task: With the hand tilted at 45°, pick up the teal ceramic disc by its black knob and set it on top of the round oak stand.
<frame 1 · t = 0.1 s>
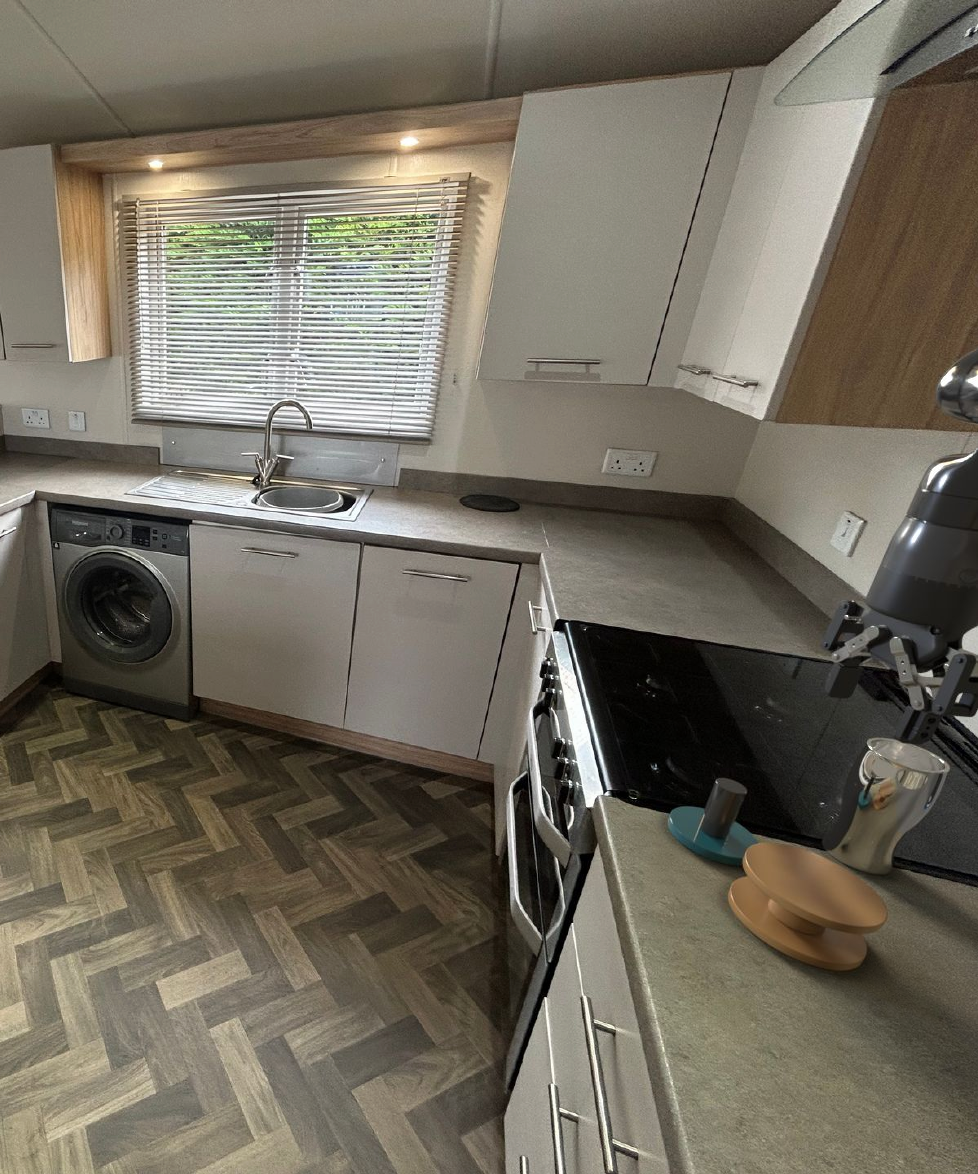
hand: (869, 717, 64), 23 cm above the countertop, tool pointing down, fingers open, 8 cm apart
disc: (710, 838, 79), on the countertop
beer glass: (854, 857, 77), on the countertop
stand: (792, 923, 68), on the countertop
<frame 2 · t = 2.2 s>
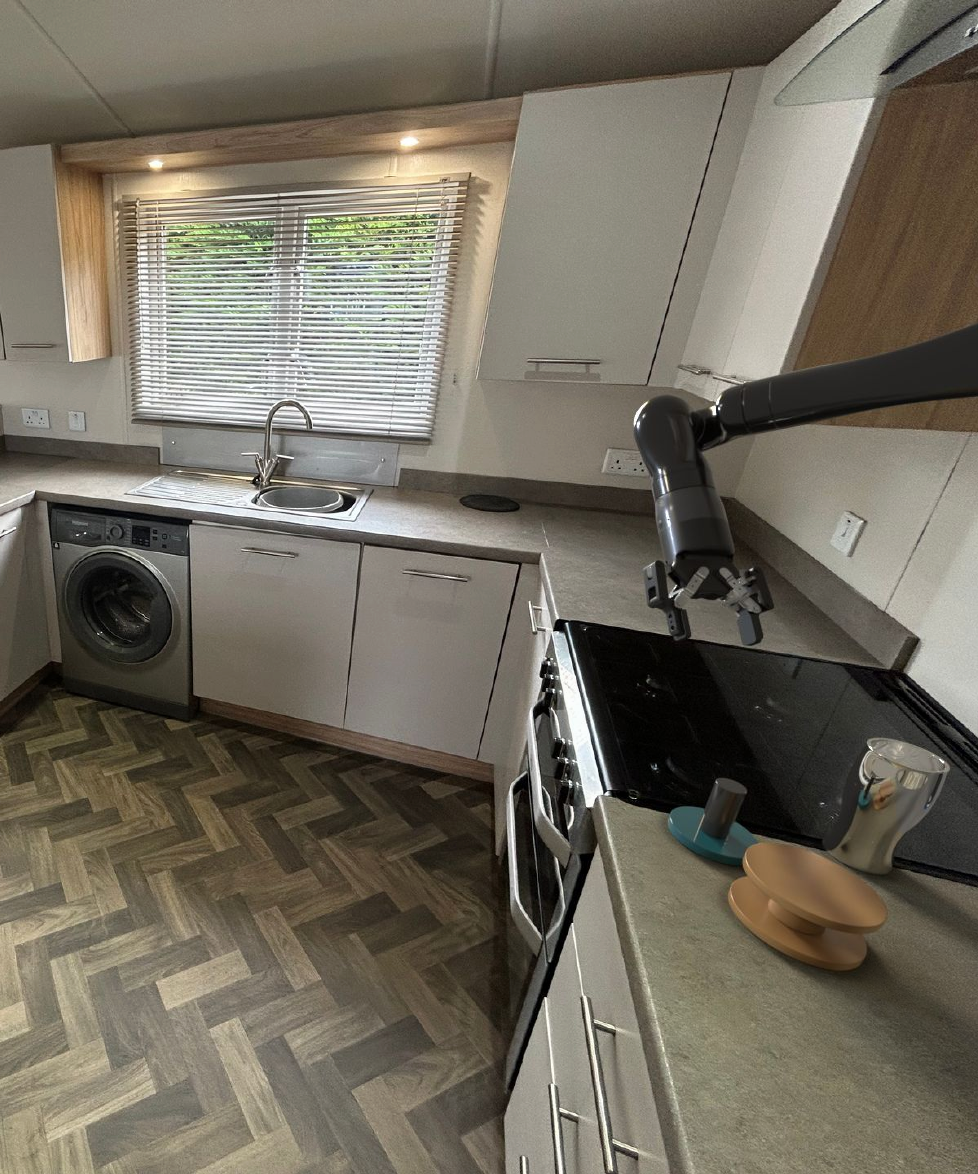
hand: (718, 641, 80), 23 cm above the countertop, tool tilted 40°, fingers open, 8 cm apart
nothing on the countertop moved.
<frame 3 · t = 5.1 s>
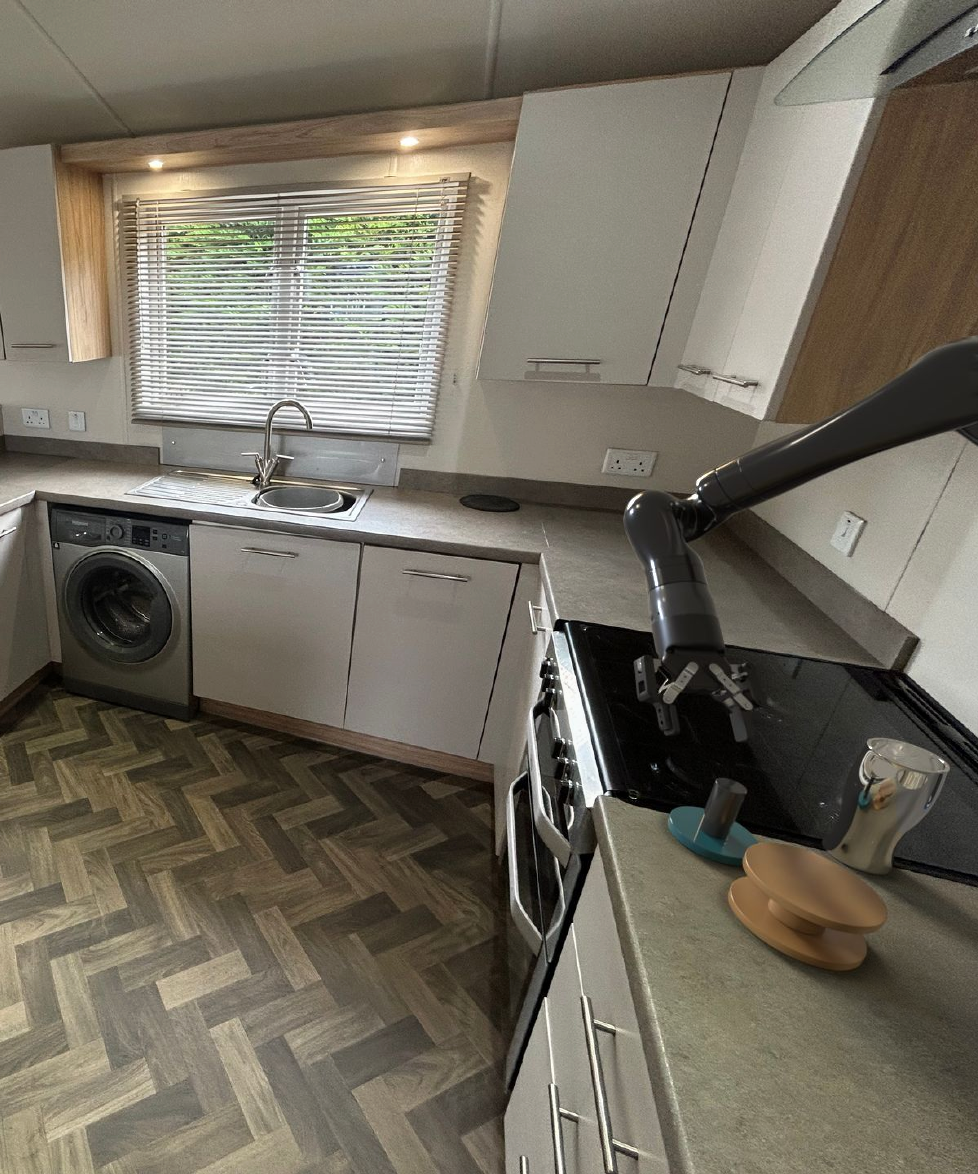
hand: (708, 738, 81), 11 cm above the countertop, tool tilted 45°, fingers open, 8 cm apart
nothing on the countertop moved.
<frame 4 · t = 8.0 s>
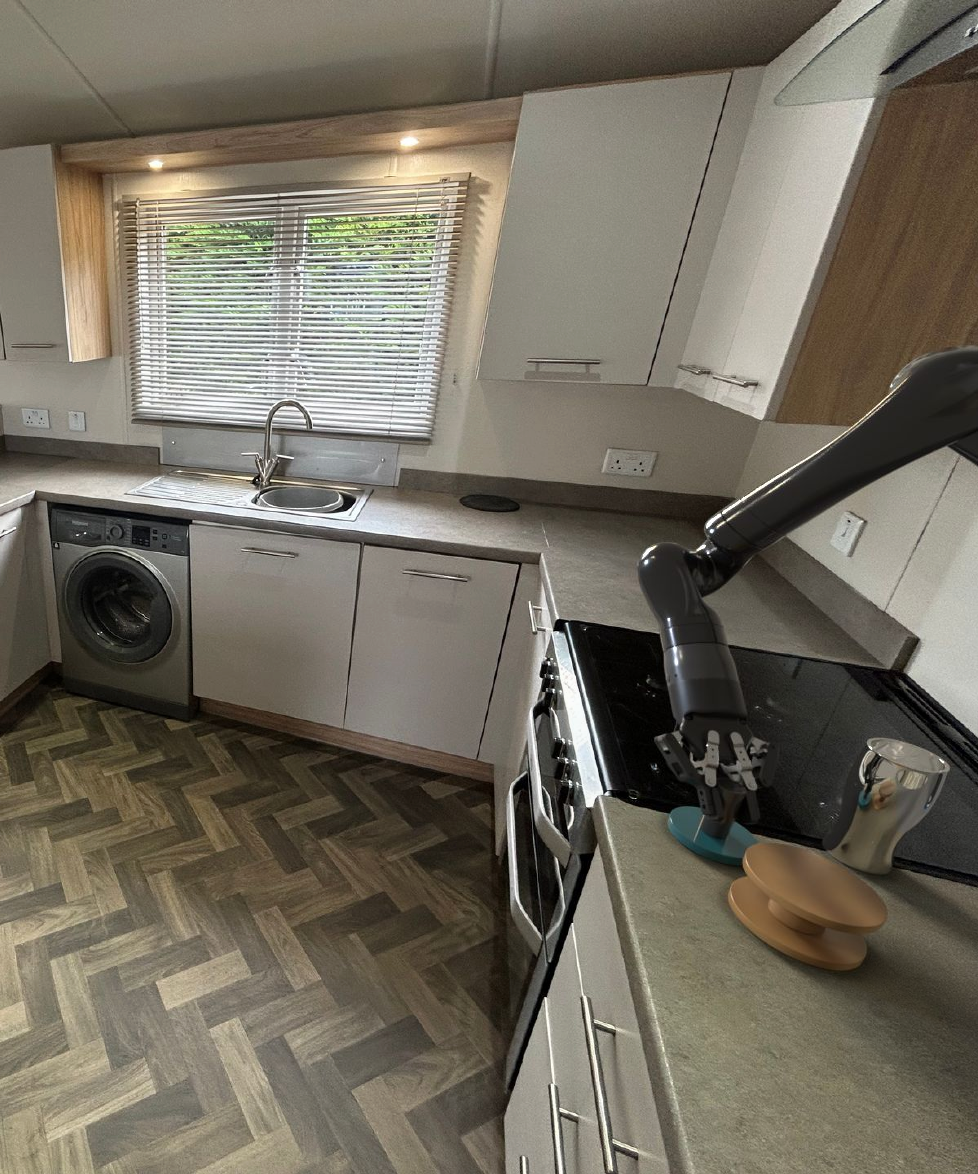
hand: (732, 821, 76), 4 cm above the countertop, tool tilted 45°, fingers closed on disc, 3 cm apart
disc: (710, 838, 79), on the countertop, touching gripper
everything else where it was.
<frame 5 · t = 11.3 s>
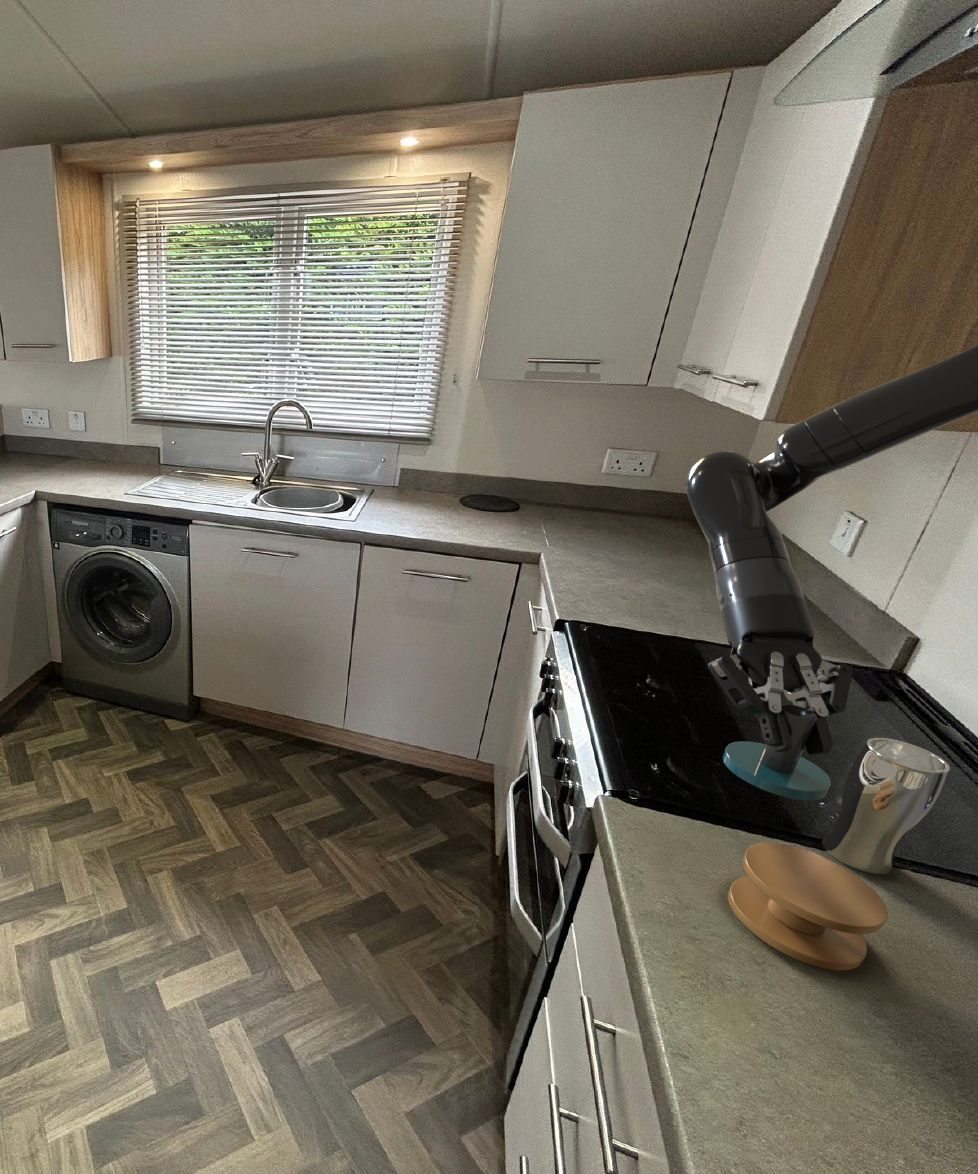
hand: (800, 751, 67), 18 cm above the countertop, tool tilted 45°, fingers closed on disc, 3 cm apart
disc: (772, 773, 71), point 13 cm above the countertop, touching gripper
everything else where it was.
when the fingers open (10 cm above the countertop, at t = 15.0 s): disc stays where it is, resting on stand.
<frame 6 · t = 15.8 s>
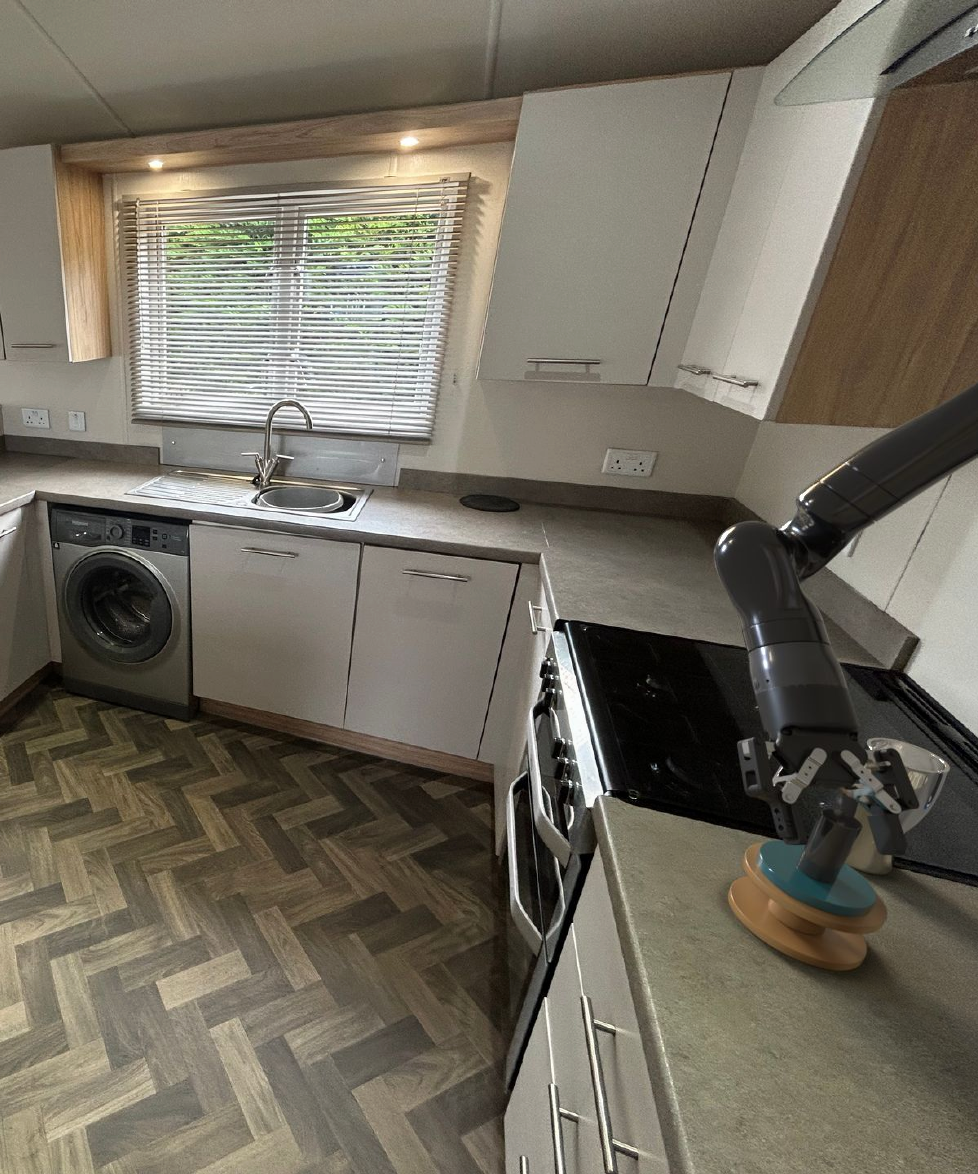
hand: (844, 849, 62), 12 cm above the countertop, tool tilted 45°, fingers open, 8 cm apart
disc: (811, 880, 66), point 6 cm above the countertop, touching stand
everything else where it was.
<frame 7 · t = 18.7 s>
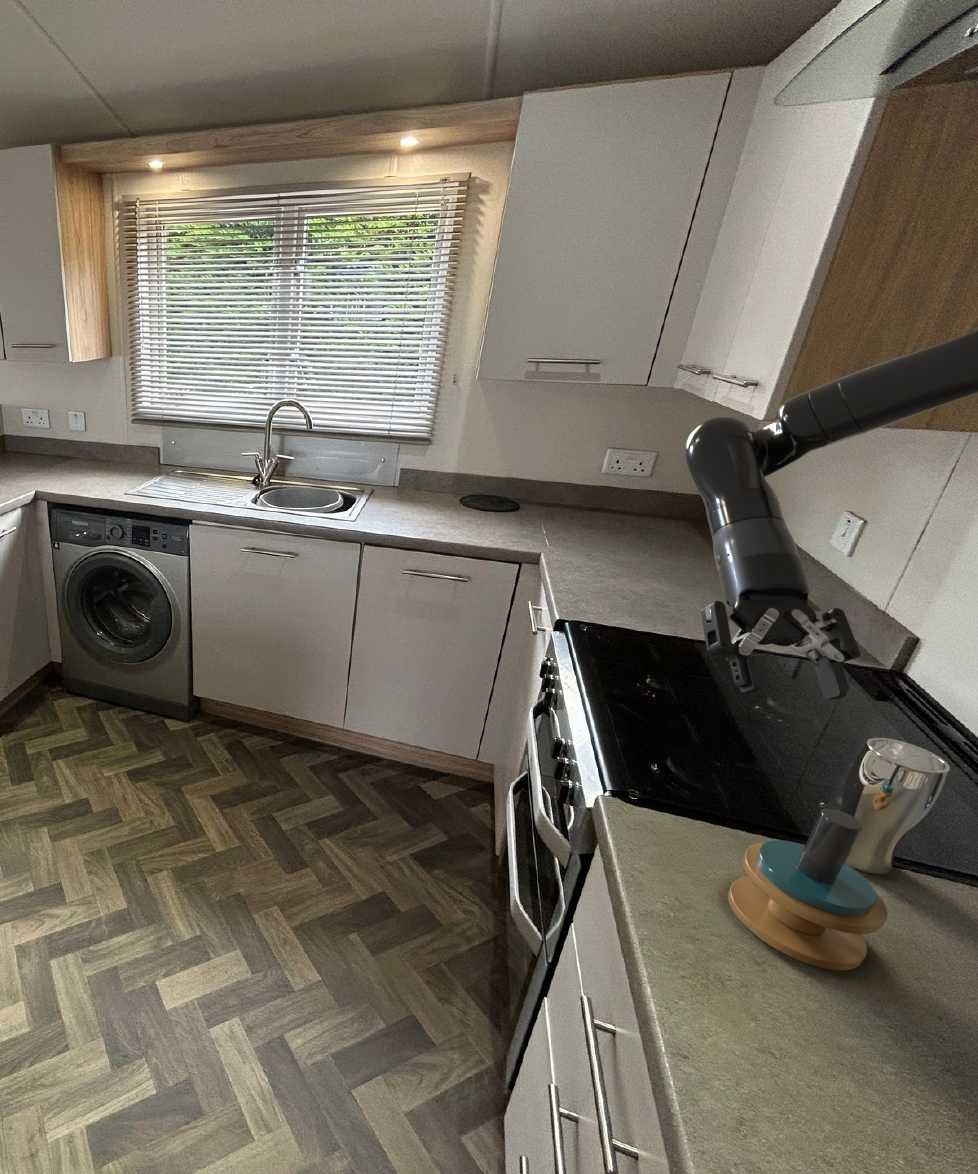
hand: (793, 694, 70), 22 cm above the countertop, tool tilted 45°, fingers open, 8 cm apart
nothing on the countertop moved.
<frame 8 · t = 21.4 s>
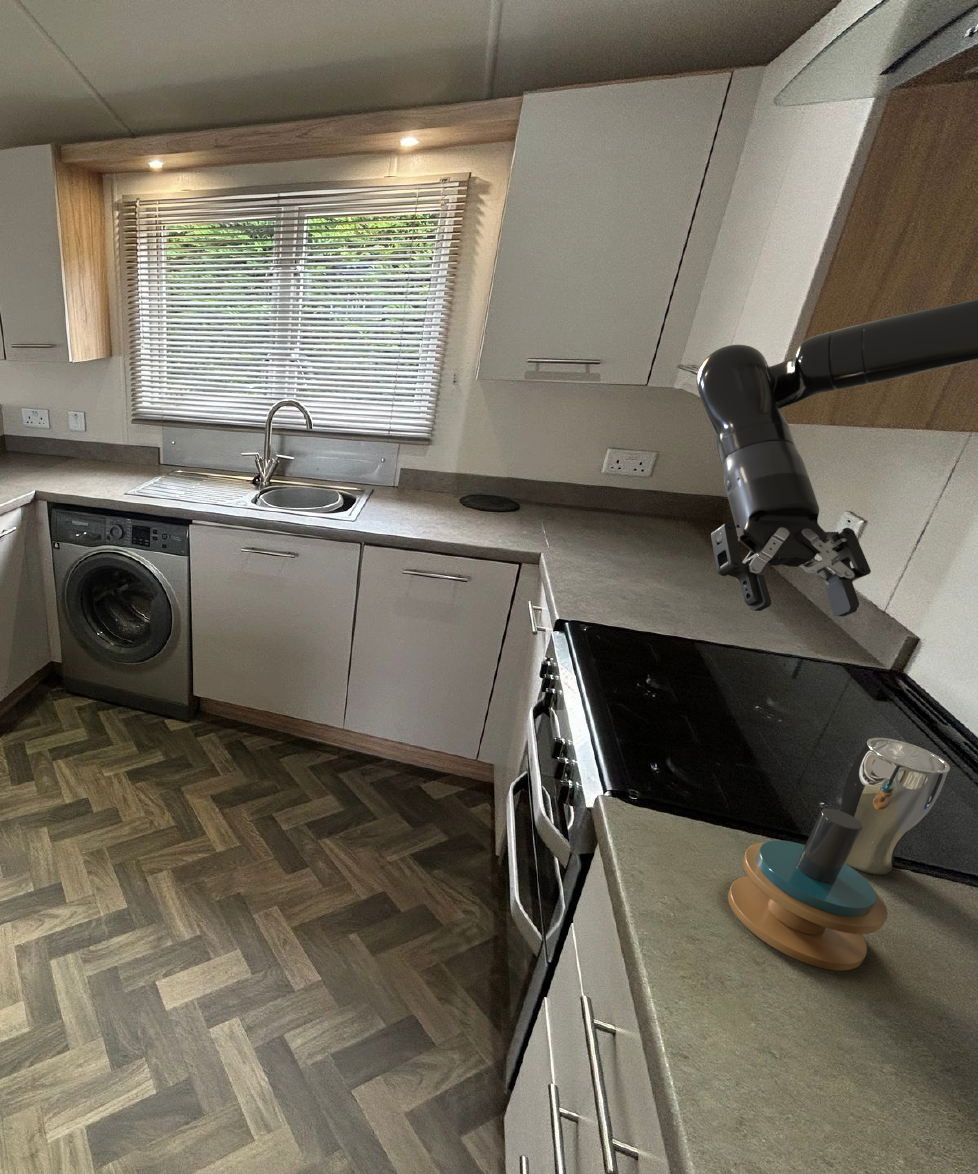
hand: (803, 611, 70), 31 cm above the countertop, tool tilted 45°, fingers open, 8 cm apart
nothing on the countertop moved.
at the end: disc 0.1 cm off-centre on the stand, point 6.0 cm above the stand's base; disc tilted 0°; the gripper is holding nothing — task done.
